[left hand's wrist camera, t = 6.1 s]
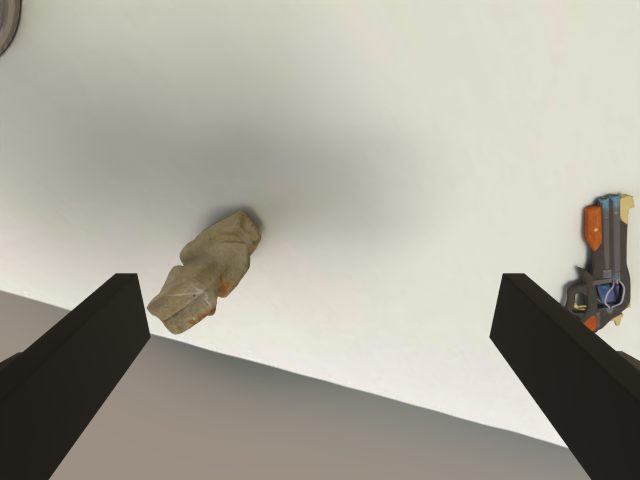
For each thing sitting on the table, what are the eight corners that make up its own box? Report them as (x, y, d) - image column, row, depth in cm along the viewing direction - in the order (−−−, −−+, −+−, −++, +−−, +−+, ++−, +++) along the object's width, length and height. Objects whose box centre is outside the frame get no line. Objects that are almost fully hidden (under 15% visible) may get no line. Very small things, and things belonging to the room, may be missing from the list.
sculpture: (191, 228, 40) (122, 297, 26) (243, 195, 39) (200, 250, 25) (223, 268, 42) (174, 352, 28) (273, 238, 40) (249, 311, 26)
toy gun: (546, 360, 44) (639, 350, 42) (535, 215, 38) (641, 194, 36) (536, 347, 46) (623, 336, 44) (525, 209, 41) (623, 189, 39)
